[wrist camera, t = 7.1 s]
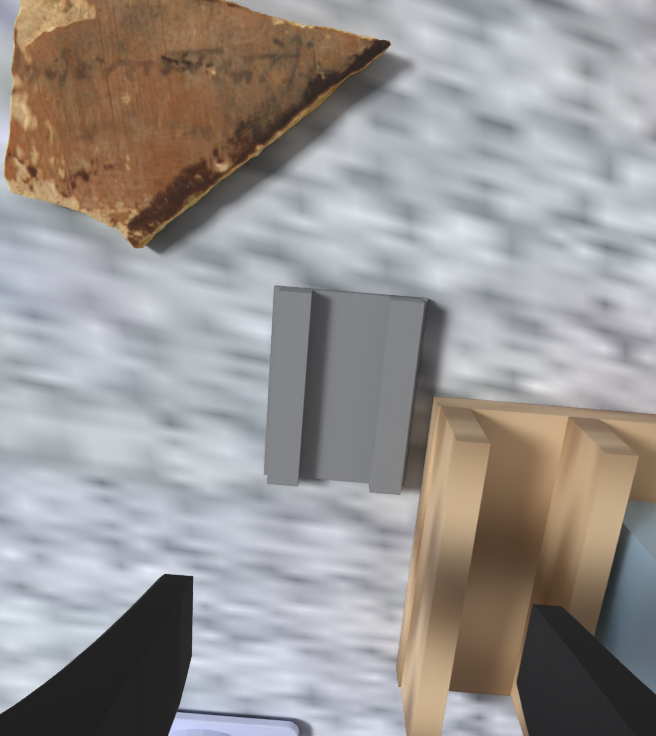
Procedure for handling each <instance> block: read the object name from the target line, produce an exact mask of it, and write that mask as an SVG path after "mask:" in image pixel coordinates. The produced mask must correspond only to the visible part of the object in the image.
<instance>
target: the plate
mask: <svg viewBox="0 0 656 736" xmlns="http://www.w3.org/2000/svg"><path fill="white" fill-rule="evenodd" d="M594 637H595V638H596V639H597V640H598V641H599V642H600V643H601V644H602V645H603V646H604V647H605V648H606V649H607V650H608V651H609V652H610V653H612V654H613V655H614V656H615V657H616V658H617V659H618V660H619V661H620V662H621V663H622V664H623V665H624V666H625V667H626V668H627V669H629V670H630V671H631V672H632V673H633V674H634V675H635V676H636V677H637V678H638V679H639V680H640V681H642V682H643V683H644V684H645V685H646V686H647V687H648V688H649V689H651V690H652V691H653V692H654V693H655V694H656V505H655V504H654V503H653V502H643V501H630V500H628V502H627V506H626V510H625V514H624V518H623V522H622V526H621V530H620V534H619V538H618V542H617V546H616V550H615V554H614V558H613V562H612V566H611V570H610V574H609V578H608V583H607V587H606V591H605V595H604V599H603V603H602V607H601V611H600V615H599V619H598V623H597V627H596V631H595V635H594Z"/></svg>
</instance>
